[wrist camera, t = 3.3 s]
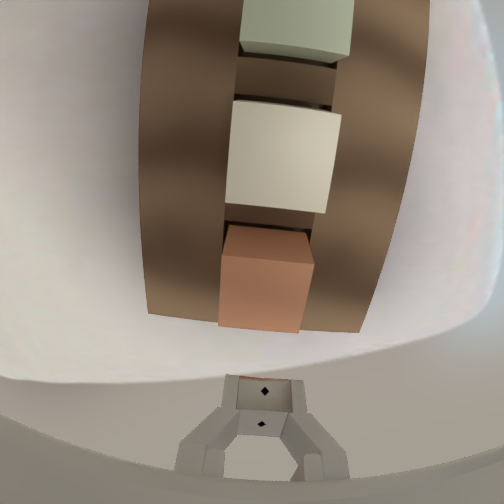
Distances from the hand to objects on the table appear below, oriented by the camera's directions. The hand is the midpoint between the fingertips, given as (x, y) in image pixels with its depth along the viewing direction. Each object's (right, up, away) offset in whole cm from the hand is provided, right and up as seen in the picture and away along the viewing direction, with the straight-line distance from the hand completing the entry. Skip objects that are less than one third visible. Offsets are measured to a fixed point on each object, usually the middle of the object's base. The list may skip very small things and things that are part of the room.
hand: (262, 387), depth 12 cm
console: (+1, +12, +7) cm, 14 cm away
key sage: (+2, +17, +1) cm, 17 cm away
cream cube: (+1, +11, +4) cm, 12 cm away
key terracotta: (0, +5, +8) cm, 9 cm away
